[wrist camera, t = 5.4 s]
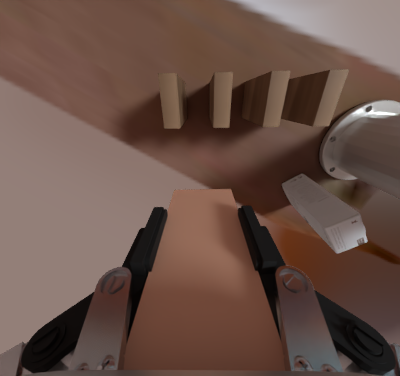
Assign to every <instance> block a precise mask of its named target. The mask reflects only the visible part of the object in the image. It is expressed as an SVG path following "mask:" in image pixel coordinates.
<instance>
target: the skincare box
mask: <svg viewBox="0 0 400 376" xmlns="http://www.w3.org/2000/svg"><path fill="white" fill-rule="evenodd" d="M282 187H283V190H284V192H285V194H286V196H287V198H288V200H289V201H290V203H291V205H292V206H293V207H294V208H295V209H296V210H297V211H298V212H299V213H300V215H301V216H302V217H303V218H304V219H305V220H306V221H307V222H308V223H309V224H310V226H311V227H312V228H313V229H314V230H315V231H316V232H317V233H318V234H319V235H320V236H321V238H322V239H323V240H324V241H325V242H326V243H327V244H328V245H329V246H330V247H331V248H332V249H333V250H334V251H335V252H336V253H340V252H343V251H346V250H348V249H351V248H354V247H356V246H359V245H361V244H364V243H366V242H367V238H366V234H365V233H366V229H365V227H364V225H363V223H362V219H361V215H360V213H358V212H357V211H356V210H354V209H353V208H351V207H350V206H349V205H347V204H346V203H344V202H343V201H341V200H340V199H339V198H337V197H336V196H334V195H333V194H331V193H330V192H328V191H327V190H326V189H324V188H323V187H321V186H320V185H319V184H317V183H316V182H314V181H313V180H312V179H310V178H309V177H307V176H306V175H304V174H303V173H302V174H300V175H298V176H295V177H294V178H292V179H290V180H288V181H286V182H284V183H282Z"/></svg>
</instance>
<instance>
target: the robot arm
mask: <svg viewBox="0 0 400 376" xmlns="http://www.w3.org/2000/svg"><path fill="white" fill-rule="evenodd" d="M319 160H320V164H321V166H322V168H323V170H324V171H325V172H326V173H327V174H329V175H331V176H332V177H335V178H337V179H342V180H353V179H360V180H362V181H364V182H366V183H368V184H370V185H372V186H374V187H376V188H378V189H380V190H382V191H384V192H386V193H388V194H390V195H392V196H394V197H396V198H398V199H400V103H399V102H396V101H393V100H374V101H370V102H366V103H363V104H361V105H358V106H356V107H355V108H353V109H351V110H349V111H348V112H347V113H345V114H344V115H343V116H341V117H340V118H339V119H338V120H337V121H336V122H335V123H334V124H333V125H332V127H331V128H330V129H329V131H328V132H327V134H326V135H325V137H324V139H323V141H322V144H321V147H320V152H319ZM167 217H168V214H167V210H166V209H164V208H163V207H155V208H154V209H153V211H152V213H151V215H150V218H149V220H148V222H147V224H146V227H145V228H141V229H140V230H139V232H138V234H137V236H136V238H135V240H134V242H133V244H132V246H131V249H130V251H129V253H128V255H127V257H126V259H125V261H124V263H123V265H122V267H117V268H114V269H112V270H110V271H108V272H107V273H105V275H103V276H102V277H101V279H100V280H99V281H98V284H97V286H96V289H95V292H93V293H92V294H90V295H89V296H87V297H86V298H84V299H83V300H81V301H80V302H78V303H77V304H76V305H74V306H72V307H71V308H69V309H68V310H67V311H65V312H63V313H62V314H61V315H59V316H57V317H56V318H54V319H53V320H52V321H50V322H49V323H47V324H46V325H44V326H43V327H42V328H41V329H39V330H38V331H37V332H36V333H35V334H34V335H33V336H32V338H31V339H30V340H29V342H27V343H23V342H22V343H20V344H19V345H16V346H15V347H13V348H11V349H10V350H8V351H6V352H4V353H2V354H1V355H0V376H400V346H399V345H398V344H396V343H393V344H390V343H388V342H387V341H386V340H385V339H384V338H383V336H381V335H380V334H379V333H378V332H377V331H376V330H375V329H374V328H373V327H371V326H370V325H368V324H367V323H366V322H364V321H362V320H361V319H359V318H358V317H356V316H354V315H353V314H351V313H350V312H348V311H347V310H345V309H343V308H342V307H340V306H339V305H337V304H336V303H334V302H332V301H331V300H329V299H328V298H326V297H325V296H323V295H321V294H320V293H318V292H317V291H315V290H314V288H313V285H312V283H311V281H310V279H309V278H308V277H307V276H306V274H304V273H303V272H302V271H301V270H299V269H297V268H295V267H292V266H286V265H285V263H284V261H283V259H282V257H281V255H280V253H279V251H278V249H277V247H276V245H275V243H274V241H273V239H272V237H271V235H270V233H269V231H268V229H267V228H266V227H265V226H260V224H259V222H258V219H257V217H256V215H255V213H254V211H253V209H252V207H251V206H241V208H239V209H238V218H239V221H240V224H241V227H242V231H243V234H244V237H245V240H246V243H247V247H248V250H249V253H250V256H251V259H252V263H253V266H254V269H255V271H258V273H259V276H260V279H261V282H262V285H263V288H264V291H265V294H266V297H267V300H268V303H269V306H270V309H271V312H272V315H273V318H274V321H275V324H276V327H277V331H278V334H279V337H280V340H281V343H282V350H283V355H285V357H284V365H285V371H254V370H123V369H124V361H125V357H124V356H123V355H125V352H126V345H127V341H128V338H129V335H130V332H131V328H132V325H133V322H134V319H135V315H136V312H137V309H138V306H139V302H140V299H141V296H142V293H143V290H144V286H145V283H146V280H147V277H148V273H149V272H151V271H152V268H153V265H154V261H155V258H156V254H157V251H158V248H159V244H160V241H161V237H162V234H163V231H164V227H165V224H166V220H167Z"/></svg>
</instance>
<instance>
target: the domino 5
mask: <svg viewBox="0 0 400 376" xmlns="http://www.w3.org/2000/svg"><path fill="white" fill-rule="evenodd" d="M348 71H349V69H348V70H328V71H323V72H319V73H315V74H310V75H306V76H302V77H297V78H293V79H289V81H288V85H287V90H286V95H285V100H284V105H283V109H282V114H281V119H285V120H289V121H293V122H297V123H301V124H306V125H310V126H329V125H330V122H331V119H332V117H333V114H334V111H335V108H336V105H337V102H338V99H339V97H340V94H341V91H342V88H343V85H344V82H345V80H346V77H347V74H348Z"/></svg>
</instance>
